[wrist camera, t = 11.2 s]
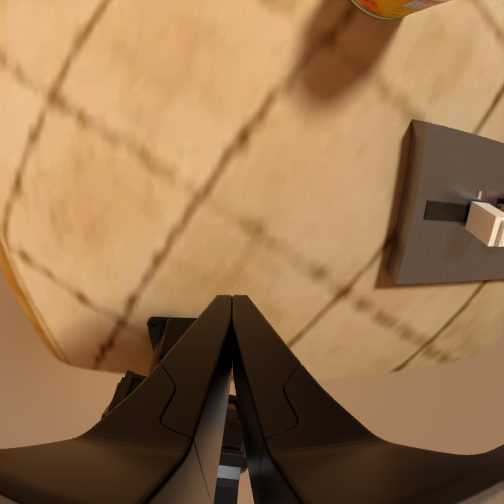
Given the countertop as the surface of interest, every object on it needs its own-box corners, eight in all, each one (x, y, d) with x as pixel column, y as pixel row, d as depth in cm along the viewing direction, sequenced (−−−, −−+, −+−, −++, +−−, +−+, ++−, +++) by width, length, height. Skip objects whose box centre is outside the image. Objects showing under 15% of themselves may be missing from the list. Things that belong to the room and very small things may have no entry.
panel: (528, 266, 25) (539, 276, 23) (386, 271, 24) (396, 285, 22) (556, 163, 19) (569, 169, 18) (412, 119, 19) (428, 122, 17)
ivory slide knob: (481, 229, 20) (507, 249, 17) (465, 228, 20) (491, 248, 17) (488, 203, 19) (516, 220, 16) (471, 201, 19) (499, 218, 16)
